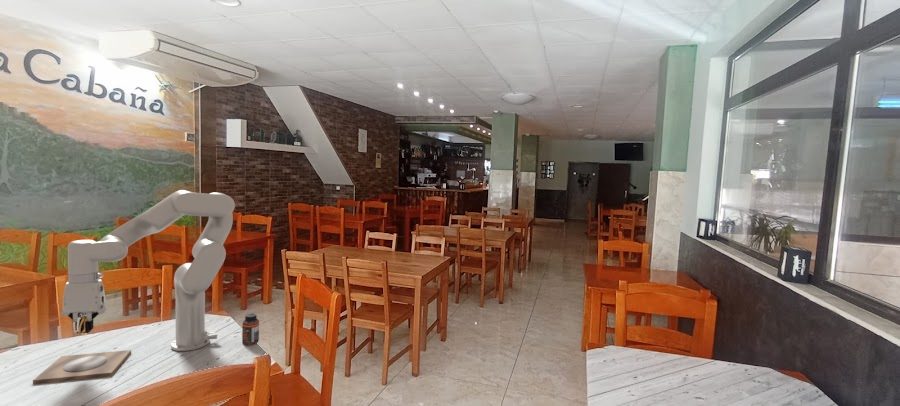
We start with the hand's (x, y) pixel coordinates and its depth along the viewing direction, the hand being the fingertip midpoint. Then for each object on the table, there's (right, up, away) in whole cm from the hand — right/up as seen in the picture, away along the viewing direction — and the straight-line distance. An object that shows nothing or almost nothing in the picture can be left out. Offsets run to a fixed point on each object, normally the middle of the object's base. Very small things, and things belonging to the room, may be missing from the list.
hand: (84, 331), depth 140 cm
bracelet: (0, -1, 0) cm, 1 cm away
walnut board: (-1, -12, +1) cm, 13 cm away
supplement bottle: (+43, -13, +26) cm, 52 cm away
